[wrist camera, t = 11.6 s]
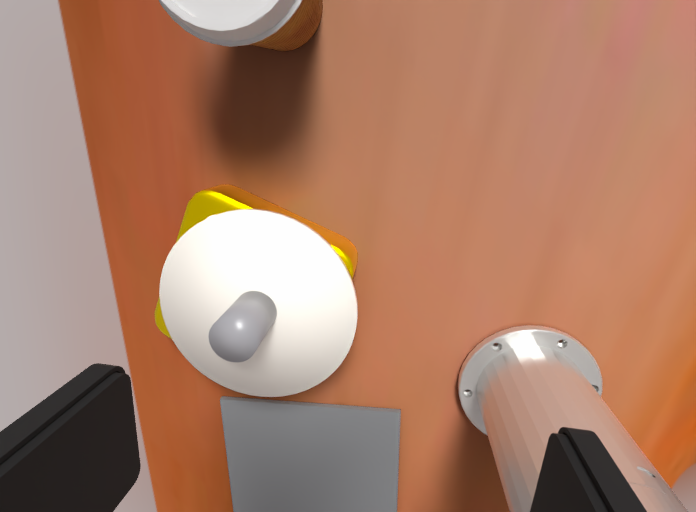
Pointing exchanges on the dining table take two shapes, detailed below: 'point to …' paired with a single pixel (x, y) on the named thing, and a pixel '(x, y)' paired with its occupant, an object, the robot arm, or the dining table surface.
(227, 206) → the element tile
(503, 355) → the robot arm
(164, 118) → the dining table surface
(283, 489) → the mat
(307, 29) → the disposable coffee cup
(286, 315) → the lid
